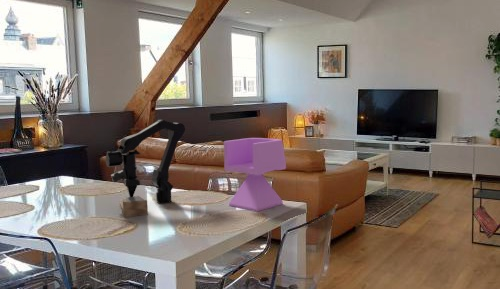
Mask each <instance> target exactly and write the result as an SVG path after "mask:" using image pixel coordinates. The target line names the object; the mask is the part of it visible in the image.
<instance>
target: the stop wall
mask: <svg viewBox="0 0 500 289" xmlns="http://www.w3.org/2000/svg"><path fill="white" fill-rule="evenodd" d="M122 203H123V213H124V215H123V217H124V218H126V217H134V216H135V217H137V216H145V215H147V216H148V213H149V212H148V200H147V199H144V200H141V201H130V202H123V201H122ZM123 213H122V214H123Z"/></svg>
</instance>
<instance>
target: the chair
mask: <svg viewBox="0 0 500 289" xmlns="http://www.w3.org/2000/svg"><path fill="white" fill-rule="evenodd" d="M223 162H224V164H223V165H224V166H223V167H224V168H223V170H224V171H225V172H236V173H237V172H238V173H241V174H245V175H246V174H247V176H246V178H245V179H244V181H243V183H242V184H241V185H240V186H239V188H238V189H237V191H236V192H235V193H234V195H233V197H232V198H231V200H230V201H229V202H228V206H229V207H233V208H238V209H242V210H247V211H253V212H256V213H257V212H261V211H264V210H267V209H270V208H271V209H272V208H275V207H278V206H282V205H283V204H284V202H283V200H282V198H281V197H280V196H279V194H278V193H277V191H275V189H274V188H273V186H271V184H270V183H269V182H268V180H267V179H266V178H265V177H264V174H266V173H269V172H274V171H282V170H286V169H287V162H286V155H285V150H284V142H283V139H278V138H266V137H264V138H263V137H248V138H247V137H246V138H240V139H238V138H237V139H232V140H225V141H223Z"/></svg>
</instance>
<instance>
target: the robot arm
mask: <svg viewBox="0 0 500 289" xmlns="http://www.w3.org/2000/svg"><path fill="white" fill-rule="evenodd" d="M161 130H166V131H168V134H167V135H168V140H167V143H166V146H165V149H164V151H163V154H162V157H161V160H160V163H159V167H158V168H157V169H153V171H152V175H151V176H150V178H151V183H152V184H153V186H154V187H155V189H156V192H155V201H156V202H157V203H158V204H165V203H167V204H168V203H173V200H172V190H173V187H174V185H173V184H171V183H170V181H169V179H170V178H169V177H170V173H169V170H170V167H171V163H172V161H173V158H174V156H175V155H174V154H175V152H176V148H177V146H178V143H179V141H180V140H181V139H182V137H183V136H184V134H185V132H186V126H185V124H183V123H182V122H170V121H167V120H164V119H158V120H156V121H155V122H154V123H152V124H151V125H149V126H147V127H146V128H144V129H142V130H141V131H138V133H134V134H132V135H128V136H124V137H123V138H122V139H121V140H120V145H119V147H118V148H117V149H116V151H106V155H105V159H104V160H105V161H104V162H105V164H106V167H107V168H111V167H120V166H121V165H123V166H122V167H121V170H118V171H116V172H114V173H112V174H110V178H111V179H112V181H113V183H116V182H118V181H123V185H124V186H125V187H126V188H127V192H128V197H134V195H135V192H136V190H137V187H138V186H140V185H141V180H139V178H138V175H137V169H138V168H137V162H136V161H137V160H136V156H137V155H140V153H141V152H140V151H138V150H137V149H136V148H138V147H139V145H140V144H141V143H142V142H144V141H145V140H146V139H148V138H149V137H151V136H153V135H155V134H157V133H158V132H159V131H161Z"/></svg>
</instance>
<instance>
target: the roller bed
mask: <svg viewBox="0 0 500 289" xmlns="http://www.w3.org/2000/svg"><path fill="white" fill-rule="evenodd" d="M123 202H126V198H124V197H123V198H122V201H119V207H120V210H121V213H122V216H124V213H123Z"/></svg>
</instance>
